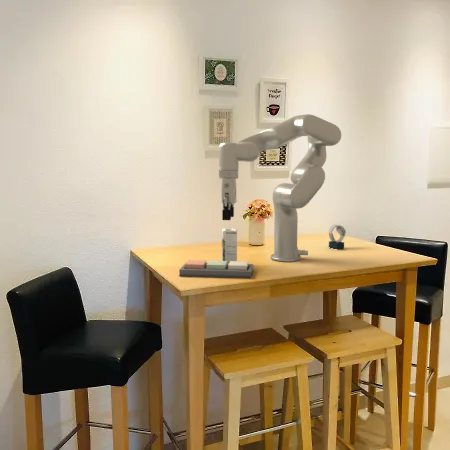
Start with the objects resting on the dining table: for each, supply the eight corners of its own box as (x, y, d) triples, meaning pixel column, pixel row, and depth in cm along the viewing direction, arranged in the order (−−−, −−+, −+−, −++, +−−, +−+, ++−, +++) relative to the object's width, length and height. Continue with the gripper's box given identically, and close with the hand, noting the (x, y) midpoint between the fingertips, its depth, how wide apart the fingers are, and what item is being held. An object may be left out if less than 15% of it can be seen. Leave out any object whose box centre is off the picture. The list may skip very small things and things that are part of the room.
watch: (347, 248, 228) (348, 225, 227) (333, 250, 224) (334, 226, 223) (339, 246, 233) (339, 223, 231) (325, 248, 229) (326, 224, 228)
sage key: (227, 264, 188) (227, 261, 188) (224, 269, 181) (224, 265, 181) (209, 264, 189) (209, 260, 188) (206, 268, 182) (206, 264, 182)
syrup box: (221, 263, 200) (221, 228, 198) (236, 263, 201) (235, 228, 198) (222, 267, 195) (222, 230, 192) (237, 266, 195) (237, 230, 193)
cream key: (248, 265, 187) (248, 261, 187) (246, 269, 180) (246, 265, 180) (230, 264, 188) (230, 261, 187) (228, 269, 181) (228, 265, 181)
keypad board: (253, 270, 189) (253, 263, 189) (250, 278, 178) (250, 271, 177) (186, 268, 193) (186, 262, 193) (179, 276, 181) (179, 269, 181)
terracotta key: (206, 264, 189) (206, 260, 189) (203, 268, 182) (203, 264, 182) (188, 263, 190) (188, 260, 190) (185, 268, 183) (185, 264, 183)
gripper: (235, 175, 183) (235, 221, 186) (240, 173, 200) (240, 215, 203) (215, 175, 184) (215, 221, 187) (222, 173, 201) (221, 215, 204)
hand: (228, 218), depth 195 cm, fingers open, 9 cm apart
